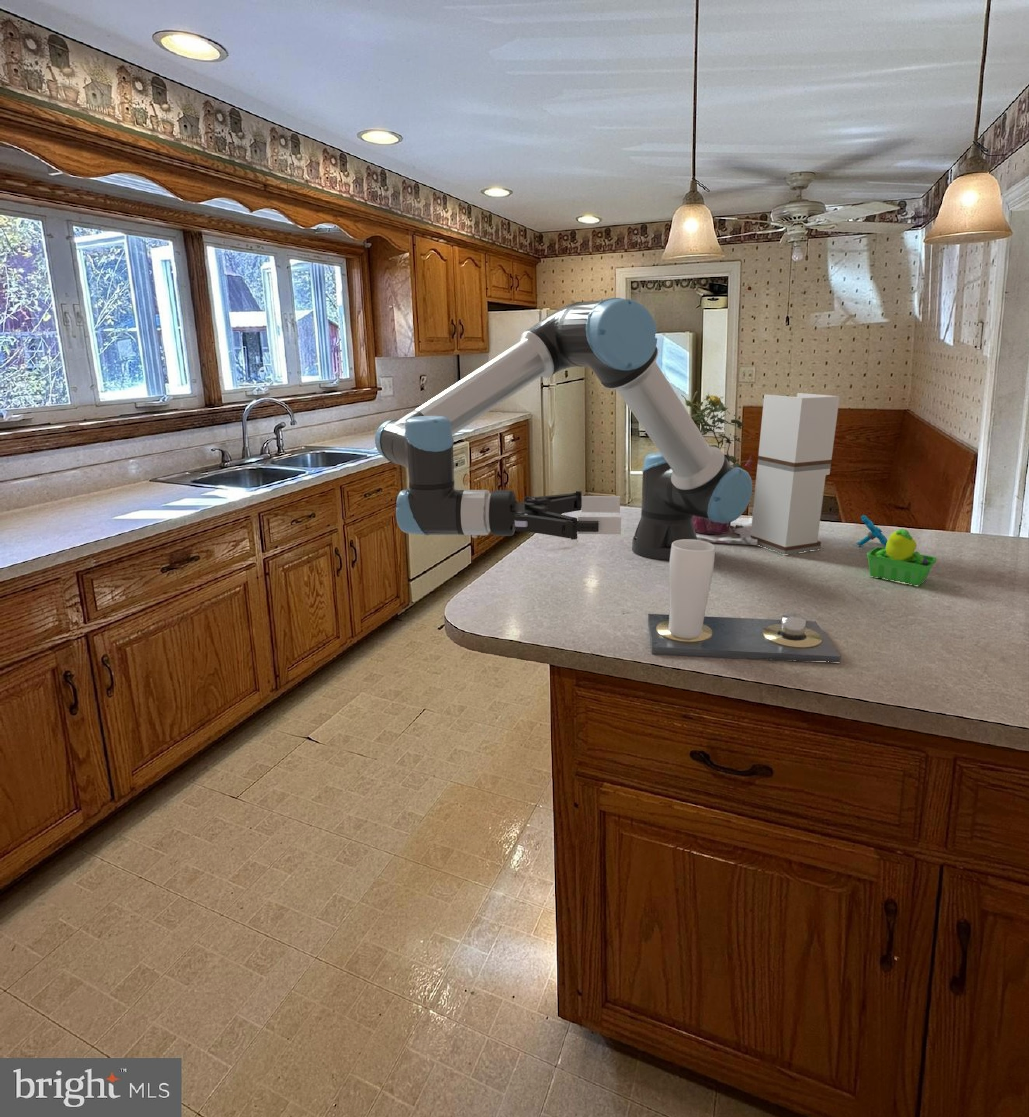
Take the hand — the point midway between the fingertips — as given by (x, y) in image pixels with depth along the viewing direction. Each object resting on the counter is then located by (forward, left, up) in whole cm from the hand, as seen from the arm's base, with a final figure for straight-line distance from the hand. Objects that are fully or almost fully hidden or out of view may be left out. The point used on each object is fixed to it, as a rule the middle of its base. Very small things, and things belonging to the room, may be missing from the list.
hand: (620, 514), depth 114 cm
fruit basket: (-62, +20, -20) cm, 69 cm away
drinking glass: (-4, +11, -19) cm, 22 cm away
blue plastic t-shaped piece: (-83, +6, -20) cm, 86 cm away
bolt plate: (-11, +16, -20) cm, 28 cm away
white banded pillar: (-68, -8, -20) cm, 71 cm away
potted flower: (-65, -30, -20) cm, 75 cm away
